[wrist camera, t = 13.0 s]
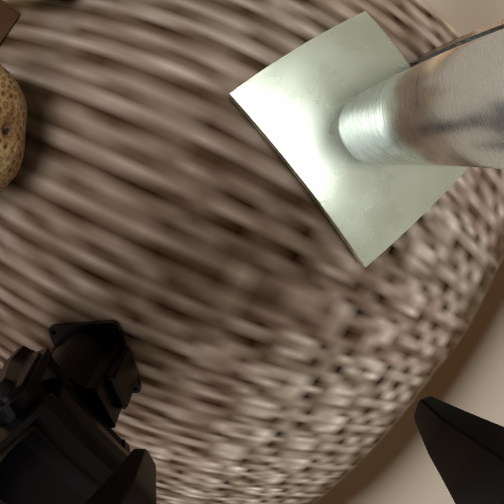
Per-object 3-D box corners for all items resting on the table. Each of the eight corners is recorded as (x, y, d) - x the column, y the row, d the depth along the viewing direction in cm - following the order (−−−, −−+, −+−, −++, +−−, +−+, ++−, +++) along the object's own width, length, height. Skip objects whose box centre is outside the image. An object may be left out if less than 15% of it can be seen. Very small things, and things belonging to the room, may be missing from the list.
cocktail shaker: (365, 179, 18) (571, 210, 4) (324, 114, 17) (511, 29, 3) (414, 143, 18) (601, 141, 4) (377, 82, 16) (552, 11, 3)
